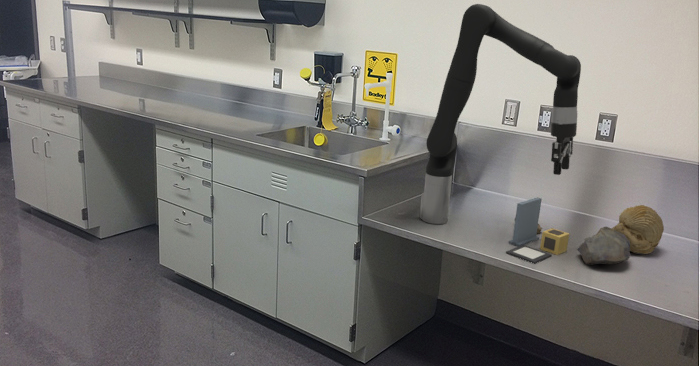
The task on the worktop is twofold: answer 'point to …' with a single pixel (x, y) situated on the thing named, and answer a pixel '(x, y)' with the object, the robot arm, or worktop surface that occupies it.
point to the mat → (528, 254)
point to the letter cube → (554, 241)
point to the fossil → (641, 228)
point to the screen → (526, 222)
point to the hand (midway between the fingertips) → (561, 171)
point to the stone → (605, 247)
